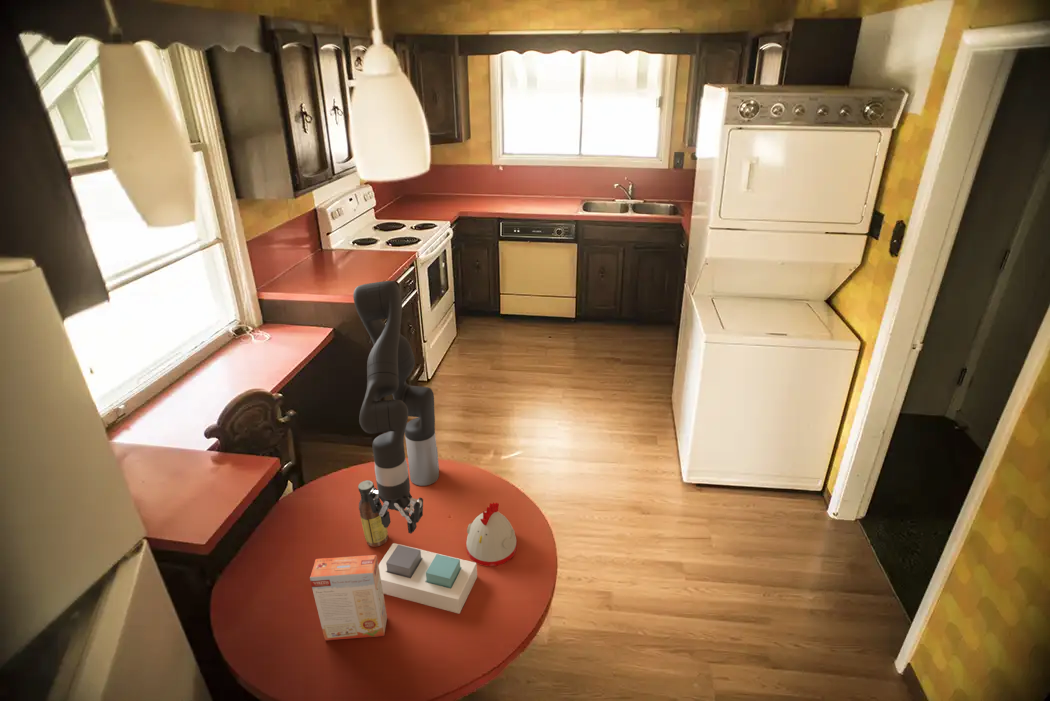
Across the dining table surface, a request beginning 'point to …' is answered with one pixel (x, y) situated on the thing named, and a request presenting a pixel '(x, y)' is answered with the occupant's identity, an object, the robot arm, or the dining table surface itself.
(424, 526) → the dining table surface
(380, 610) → the cracker box
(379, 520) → the sauce bottle
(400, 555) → the charcoal key
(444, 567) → the teal key
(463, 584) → the key housing
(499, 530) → the kitchen timer
